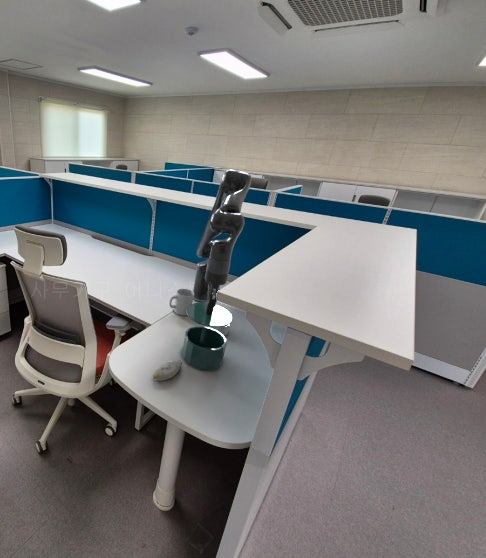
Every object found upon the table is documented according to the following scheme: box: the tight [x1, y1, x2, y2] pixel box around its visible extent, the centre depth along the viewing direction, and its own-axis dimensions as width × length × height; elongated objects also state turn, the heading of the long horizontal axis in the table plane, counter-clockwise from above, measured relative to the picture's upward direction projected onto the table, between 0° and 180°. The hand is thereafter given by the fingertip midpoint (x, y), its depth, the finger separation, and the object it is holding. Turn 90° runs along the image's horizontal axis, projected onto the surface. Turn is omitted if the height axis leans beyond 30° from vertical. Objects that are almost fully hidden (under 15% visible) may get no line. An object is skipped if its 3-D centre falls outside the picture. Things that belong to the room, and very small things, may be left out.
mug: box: [168, 288, 194, 317], centre depth 151 cm, size 12×8×11 cm
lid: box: [186, 301, 233, 328], centre depth 113 cm, size 17×17×6 cm
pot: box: [181, 325, 228, 371], centre depth 119 cm, size 16×16×10 cm
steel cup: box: [214, 324, 230, 337], centre depth 137 cm, size 6×6×5 cm
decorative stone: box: [152, 359, 183, 382], centre depth 111 cm, size 6×16×3 cm, turn 133°
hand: (209, 311), depth 113 cm, fingers closed on lid, 2 cm apart
